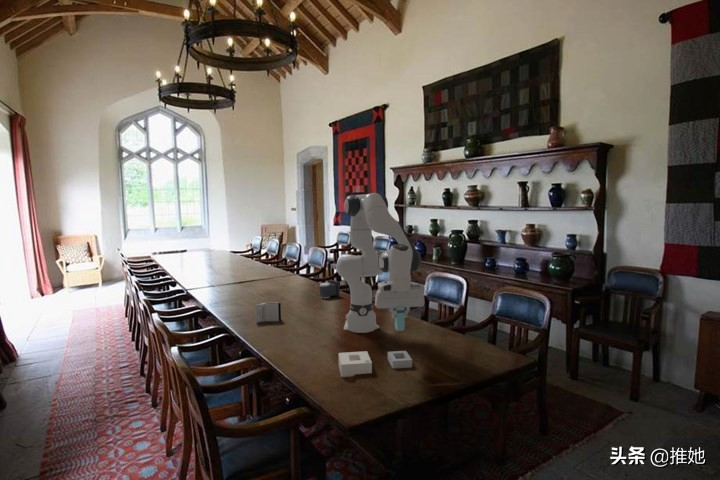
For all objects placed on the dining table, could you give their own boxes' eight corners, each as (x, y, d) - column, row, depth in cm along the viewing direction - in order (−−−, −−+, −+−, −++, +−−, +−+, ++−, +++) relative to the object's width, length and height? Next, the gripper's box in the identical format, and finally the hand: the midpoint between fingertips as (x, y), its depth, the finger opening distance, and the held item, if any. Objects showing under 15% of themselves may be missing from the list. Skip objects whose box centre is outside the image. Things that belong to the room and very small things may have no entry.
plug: (394, 327, 169) (394, 304, 168) (401, 327, 169) (402, 303, 168) (397, 331, 165) (397, 307, 163) (404, 330, 165) (404, 306, 164)
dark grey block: (316, 298, 284) (315, 282, 282) (331, 294, 292) (330, 279, 291) (325, 301, 276) (324, 285, 274) (341, 296, 284) (340, 281, 282)
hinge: (255, 323, 226) (255, 305, 225) (255, 320, 231) (255, 303, 230) (281, 321, 229) (280, 303, 228) (280, 318, 234) (280, 301, 233)
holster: (387, 360, 173) (387, 351, 172) (405, 359, 174) (405, 350, 174) (392, 370, 163) (392, 361, 163) (412, 369, 164) (412, 359, 164)
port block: (338, 364, 169) (338, 352, 168) (367, 362, 171) (367, 350, 170) (341, 377, 157) (341, 364, 157) (371, 375, 159) (371, 362, 158)
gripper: (422, 282, 169) (421, 314, 171) (374, 283, 167) (374, 316, 168) (427, 285, 163) (426, 318, 165) (376, 287, 160) (376, 321, 162)
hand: (399, 317), depth 166 cm, fingers closed on plug, 3 cm apart
